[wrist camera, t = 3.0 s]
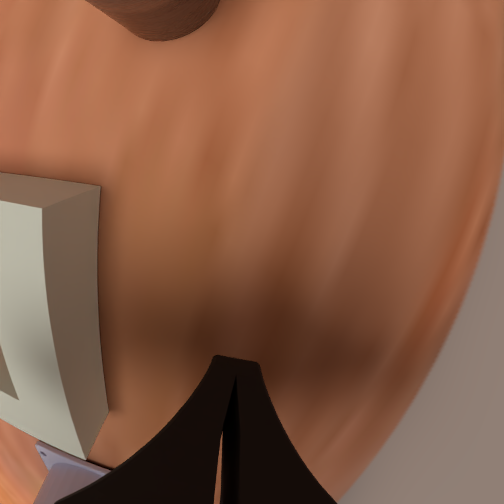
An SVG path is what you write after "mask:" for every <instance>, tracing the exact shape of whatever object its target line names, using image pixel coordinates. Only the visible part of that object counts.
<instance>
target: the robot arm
mask: <svg viewBox="0 0 504 504" xmlns="http://www.w3.org/2000/svg"><path fill="white" fill-rule="evenodd" d="M222 431H223V438H222V470H221V495H220V504H337V503H336V502H335V501H334V499H333V498H332V497H331V496H330V495H329V494H328V493H327V492H326V490H325V489H324V488H323V487H322V486H321V485H320V484H319V482H318V481H317V480H316V478H315V477H314V476H313V474H312V473H311V472H310V470H309V469H308V468H307V466H306V465H305V463H304V462H303V460H302V459H301V457H300V456H299V454H298V453H297V451H296V450H295V448H294V446H293V444H292V443H291V441H290V439H289V437H288V435H287V434H286V432H285V430H284V428H283V426H282V424H281V422H280V420H279V418H278V415H277V413H276V411H275V409H274V406H273V404H272V402H271V399H270V397H269V394H268V391H267V389H266V386H265V383H264V380H263V376H262V373H261V369H260V365H259V364H258V363H257V362H253V361H247V360H242V359H236V358H231V357H226V356H220V355H216V356H214V357H213V359H212V362H211V364H210V366H209V368H208V370H207V372H206V374H205V375H204V377H203V379H202V380H201V382H200V383H199V385H198V386H197V388H196V389H195V390H194V392H193V393H192V395H191V396H190V397H189V399H188V400H187V401H186V403H185V404H184V405H183V406H182V407H181V409H180V410H179V411H178V412H177V413H176V415H175V416H174V417H173V418H172V419H171V420H170V421H169V422H168V424H167V425H166V426H165V427H164V428H163V429H162V430H161V431H160V432H159V433H158V434H157V435H156V436H155V437H153V438H152V439H151V440H150V441H149V442H148V443H147V444H146V445H145V446H143V447H142V448H141V449H140V450H139V451H137V452H136V453H135V454H134V455H133V456H131V457H130V458H129V459H127V460H126V461H125V462H123V463H122V464H121V465H119V466H118V467H116V468H115V469H113V470H112V471H111V470H108V469H105V468H102V467H99V466H97V465H94V464H91V463H89V462H86V461H84V460H81V459H79V458H76V457H74V456H71V455H69V454H67V453H64V452H62V451H60V450H58V449H56V448H53V447H51V446H49V445H47V444H45V443H43V442H41V441H37V443H36V444H35V447H36V449H37V451H38V452H39V454H40V456H41V458H42V460H43V462H44V463H45V465H46V467H47V469H48V470H49V473H48V474H47V476H46V478H45V480H44V482H43V484H42V487H41V489H40V491H39V493H38V495H37V497H36V499H35V501H34V503H33V504H214V493H215V483H216V474H217V465H218V456H219V447H220V439H221V435H222Z"/></svg>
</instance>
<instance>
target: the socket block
mask: <svg viewBox="0 0 504 504" xmlns="http://www.w3.org/2000/svg"><path fill="white" fill-rule="evenodd" d="M100 190H101V186H97V185H90V184H83V183H77V182H70V181H63V180H56V179H48V178H41V177H33V176H26V175H18V174H9V173H1V172H0V418H1V419H2V420H4V421H6V422H7V423H9V424H11V425H13V426H14V427H16V428H18V429H20V430H22V431H23V432H25V433H27V434H29V435H31V436H33V437H35V438H37V439H39V440H41V441H43V442H45V443H47V444H49V445H51V446H54V447H56V448H58V449H60V450H62V451H65V452H67V453H69V454H72V455H74V456H76V457H79V458H81V459H84V460H86V459H87V457H88V455H89V453H90V450H91V448H92V446H93V444H94V442H95V440H96V438H97V435H98V433H99V431H100V429H101V427H102V425H103V423H104V421H105V419H106V417H107V415H108V413H109V409H108V403H107V396H106V389H105V381H104V373H103V364H102V355H101V344H100V330H99V314H98V285H97V248H98V220H99V203H100Z"/></svg>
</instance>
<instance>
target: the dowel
mask: <svg viewBox="0 0 504 504" xmlns="http://www.w3.org/2000/svg"><path fill="white" fill-rule="evenodd" d="M85 1H87V2H89V3H90V4H92V5H93V6H95V7H96V8H98V9H99V10H101V11H102V12H104V13H105V14H106V15H108V16H109V17H111V18H112V19H114V20H115V21H117V22H118V23H119V24H121V25H122V26H124V27H125V28H126V29H128V30H129V31H131V32H132V33H133V34H135V35H136V36H138V37H140V38H143V39H146V40H150V41H167V40H172V39H177V38H179V37H182V36H185V35H187V34H189V33H191V32H193V31H194V30H196V29H197V28H199V27H200V26H202V25H203V24H204V23H205V22H206V21H207V20H208V19H209V18H210V17H211V16H212V14H213V13H214V11H215V9H216V8H217V6H218V3H219V0H85Z"/></svg>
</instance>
